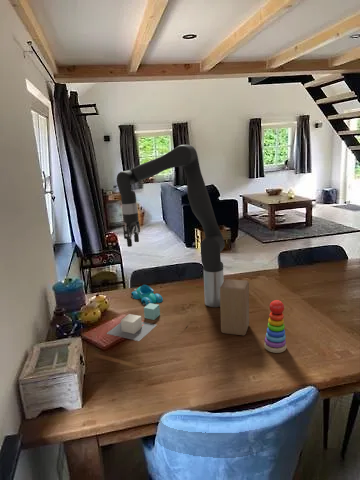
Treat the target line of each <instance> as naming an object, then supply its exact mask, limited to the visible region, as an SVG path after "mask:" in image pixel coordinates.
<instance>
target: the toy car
mask: <svg viewBox="0 0 360 480" xmlns="http://www.w3.org/2000/svg"><path fill="white" fill-rule="evenodd" d="M130 294H131V298H133V299H134V300H141V303H142V305H143V306H147V305H148V304H149V303H152V304H157V303H158V304H159V303H163V302H164V301H163V300H164V298H163V296H162V295H161V294H160V293H154V289H153V288H152V286H149V285H148V284H142V285H140V286H139V287H137V288H134V289H133V291H132V292H131V293H130Z"/></svg>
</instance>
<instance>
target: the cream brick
mask: <svg viewBox="0 0 360 480" xmlns="http://www.w3.org/2000/svg"><path fill="white" fill-rule="evenodd" d="M142 322H143V320H142V315H137V314H131V313H128V314H127V315H126V316H125V317H123V318H122V319H121V320H120V323H121V326H122V331H123V332H128V333H133V334H135V333H136V332H137V331H138V330H139V329H140V328H142Z"/></svg>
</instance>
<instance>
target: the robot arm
mask: <svg viewBox="0 0 360 480" xmlns="http://www.w3.org/2000/svg"><path fill="white" fill-rule="evenodd" d="M178 167H182V169H183V171H184V174H185V177H186V185H187V186H186V189H187V191H186V193H187V199H188V201H189V202H188V203H189V205H190V208H191V211H192V213H193V214H194V216H195V217H196V219H197V220H198V221H199V223H200V225H201V226H202V229H203V233H204V236H205V238H203V240H202V241H201V243H200V258H201V265H202V267H203V292H204V304H205V306H207V307H211V308H219V307H220V287H221V286H222V284H223V282H224V280H225V278H224V263H223V261H222V260H221V252H222V251H223V250H224V248H225V239H224V237H223V234H222V232H221V230H220V227H219V225H218V222H217V219H216V216H215V212H214V209H213V208H214V207H213V206H212V202H211V198H210V195H209V192H208V190H207V186H206V183H205V180H204V177H203V174H202V171H201V166H200V163H199V157H198V153H197V150H196V148H195V147H194V146H192V145H191V144H179V145H178V146H176V147H175V148H173V149H171V150H170V151H169V152H167V153H165V154H163V155H161V156H159V157H157V158H154V159H151V160H148V161H146V162H143V163H141V164H139V165H136V166H135V167H134V168H130V169H127V170H123V171H120V172H118V174H117V175H116V185H117V187H118V191H119V193H120V196H121V197H120V199H121V212H122V220H123V223H125V225H126V226H122V228H123V239H124V240H126V244H127V247H128V248H129V247H130V248H132V247H133V241H132V238H133V240H134V242H135V243H139V242H140V239H139V235H140V233H141V226H140V219H139V218H140V217H139V212H138V211H139V209H138V205H137V196H136V192H135V191H134V190H132V185H134V184H137V183H139V182H141V181H143V180H147V179H149V178H151V177H154V176H156V175H158V174H161V173H162V172H164V171H168V170H169V169H173V168H178ZM132 236H133V237H132Z"/></svg>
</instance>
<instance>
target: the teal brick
mask: <svg viewBox="0 0 360 480" xmlns="http://www.w3.org/2000/svg"><path fill="white" fill-rule="evenodd" d="M160 308H161V307H160V304H159V303H158V304H157V303H153V304H152V303H149V304H148V305H147V306H146V305H144V307H143V314H144V315H143V316H144V319H148V320H154V321H155V320H156V319H157V318H158V317H159V316H161V313H160V312H161V310H160Z"/></svg>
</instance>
